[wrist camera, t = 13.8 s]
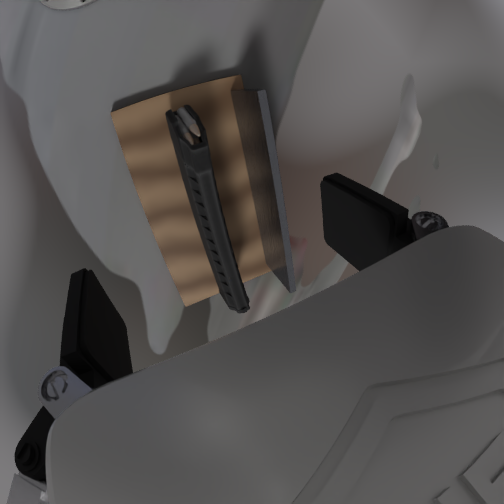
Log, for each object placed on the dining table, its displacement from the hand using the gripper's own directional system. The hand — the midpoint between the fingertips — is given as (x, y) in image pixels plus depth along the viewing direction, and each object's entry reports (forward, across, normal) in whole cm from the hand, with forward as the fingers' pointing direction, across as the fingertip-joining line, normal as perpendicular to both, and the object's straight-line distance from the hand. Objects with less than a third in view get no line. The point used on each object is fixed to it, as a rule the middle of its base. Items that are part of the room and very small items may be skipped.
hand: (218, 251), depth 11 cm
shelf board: (+32, -5, +12) cm, 35 cm away
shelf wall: (+31, -13, +12) cm, 35 cm away
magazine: (+31, -4, +12) cm, 34 cm away
